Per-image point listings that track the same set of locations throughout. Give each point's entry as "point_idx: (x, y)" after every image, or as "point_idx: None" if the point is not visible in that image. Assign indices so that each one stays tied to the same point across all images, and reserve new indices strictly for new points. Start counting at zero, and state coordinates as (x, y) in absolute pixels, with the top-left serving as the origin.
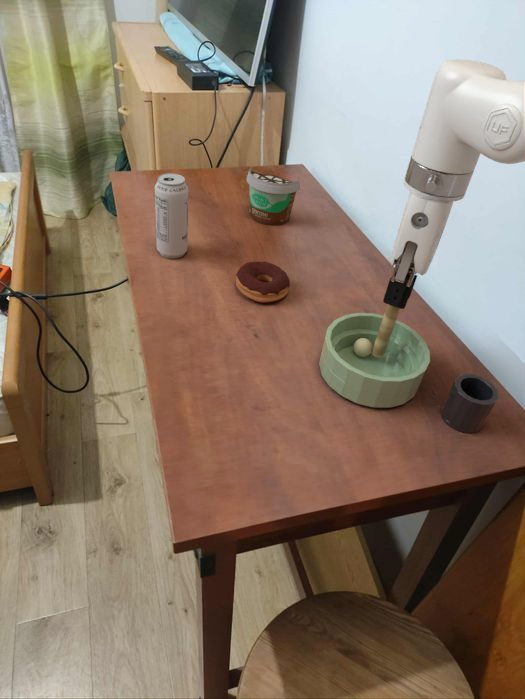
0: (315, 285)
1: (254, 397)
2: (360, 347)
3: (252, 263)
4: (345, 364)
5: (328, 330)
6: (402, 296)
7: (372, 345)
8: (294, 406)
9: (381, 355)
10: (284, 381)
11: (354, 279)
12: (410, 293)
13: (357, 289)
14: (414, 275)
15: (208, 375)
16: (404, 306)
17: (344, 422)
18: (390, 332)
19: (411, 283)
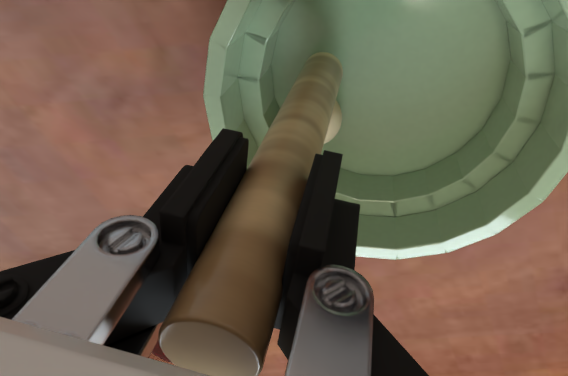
0: (104, 218)
1: (528, 294)
2: (334, 133)
3: (155, 350)
4: (520, 211)
5: (359, 253)
6: (340, 224)
7: (271, 81)
8: (550, 229)
9: (338, 64)
10: (465, 251)
11: (13, 140)
12: (230, 149)
13: (46, 130)
14: (170, 227)
15: (475, 354)
16: (340, 161)
17: None
18: (325, 97)
19: (214, 202)
